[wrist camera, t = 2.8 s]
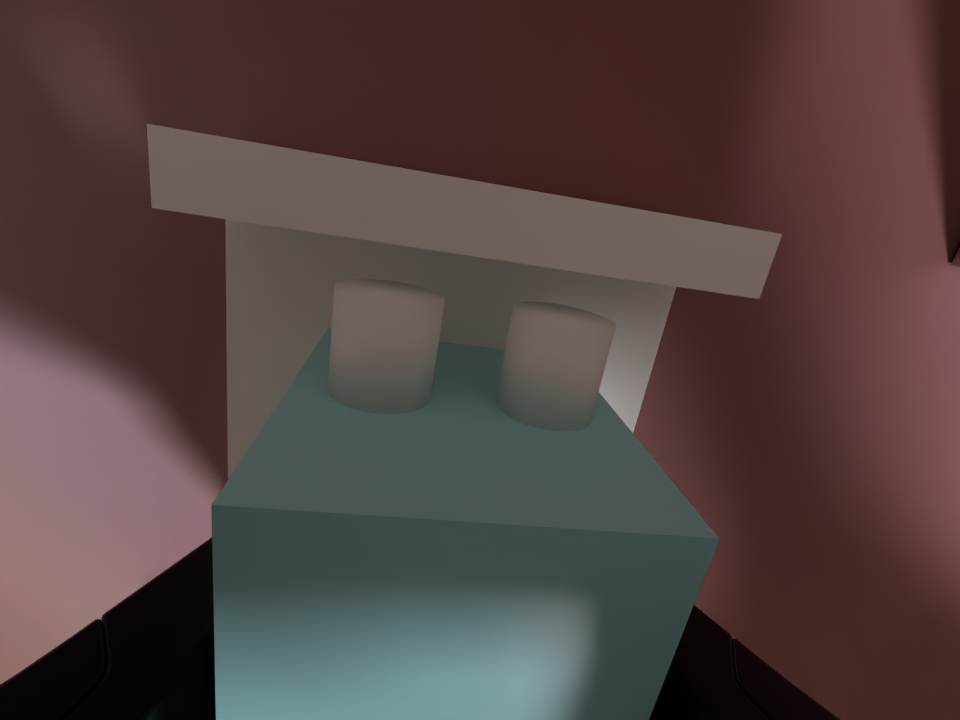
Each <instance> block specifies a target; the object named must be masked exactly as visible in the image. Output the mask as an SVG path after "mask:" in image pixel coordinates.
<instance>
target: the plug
mask: <svg viewBox="0 0 960 720" xmlns="http://www.w3.org/2000/svg"><path fill="white" fill-rule="evenodd" d="M444 301H445V298H444V297H443V296H442V295H441V294H439V293H437V292H435V291H433V290H430V289H427V288H424V287H420V286H416V285H412V284H407V283H402V282H395V281H388V280H376V279H351V280H344V281H340V282H337V283H336V284H335V285H334V298H333V313H332V328H328V329H327V330H326V332H325V333H324V335H323V336H322V338H321V339H320V341H319V343H318V344H317V346H316V347H315V349H314V350H313V352H312V353H311V355H310V356H309V358H308V359H307V361H306V362H305V364H304V365H303V367H302V368H301V370H300V371H299V373H298V374H297V376H296V377H295V379H294V380H293V382H292V383H291V385H290V387H289V388H288V390H287V391H286V393H285V394H284V396H283V397H282V399H281V400H280V402H279V403H278V405H277V406H276V408H275V409H274V411H273V412H272V414H271V415H270V417H269V418H268V420H267V421H266V423H265V424H264V426H263V428H262V429H261V431H260V432H259V434H258V435H257V437H256V438H255V440H254V441H253V443H252V444H251V446H250V447H249V449H248V450H247V452H246V453H245V455H244V456H243V458H242V459H241V461H240V462H239V464H238V465H237V467H236V468H235V470H234V472H233V473H232V475H231V476H230V478H229V479H228V481H227V482H226V484H225V485H224V487H223V488H222V490H221V491H220V493H219V494H218V496H217V497H216V499H215V500H214V502H213V503H212V552H213V601H214V651H215V701H216V720H649V718H650V716H651V713H652V711H653V708H654V706H655V703H656V701H657V698H658V695H659V693H660V690H661V688H662V685H663V683H664V680H665V677H666V675H667V672H668V670H669V667H670V665H671V662H672V659H673V657H674V654H675V652H676V649H677V647H678V644H679V641H680V639H681V636H682V634H683V631H684V629H685V626H686V623H687V621H688V618H689V616H690V613H691V611H692V608H693V605H694V603H695V600H696V598H697V595H698V593H699V590H700V588H701V585H702V582H703V580H704V577H705V575H706V572H707V570H708V567H709V564H710V562H711V559H712V557H713V554H714V552H715V549H716V546H717V544H718V541H719V539H720V538H719V537H718V536H717V535H716V534H715V532H714V531H713V530H712V529H711V528H710V526H709V525H708V524H707V523H706V521H705V520H704V519H703V518H702V517H701V515H700V514H699V513H698V512H697V511H696V509H695V508H694V507H693V506H692V504H691V503H690V502H689V501H688V500H687V498H686V497H685V496H684V495H683V493H682V492H681V491H680V490H679V489H678V487H677V486H676V485H675V484H674V483H673V481H672V480H671V479H670V478H669V476H668V475H667V474H666V473H665V472H664V470H663V469H662V468H661V467H660V466H659V464H658V463H657V462H656V461H655V459H654V458H653V457H652V456H651V455H650V453H649V452H648V451H647V450H646V449H645V447H644V446H643V445H642V444H641V442H640V441H639V440H638V439H637V438H636V436H635V435H634V434H633V433H632V432H631V430H630V429H629V428H628V427H627V425H626V424H625V423H624V422H623V421H622V419H621V418H620V417H619V416H618V415H617V413H616V412H615V411H614V410H613V408H612V407H611V406H610V405H609V404H608V402H607V401H606V400H605V399H604V397H603V396H602V395H601V394H600V393H599V389H600V385H601V381H602V377H603V373H604V369H605V366H606V362H607V358H608V354H609V350H610V346H611V343H612V339H613V335H614V331H615V327H616V326H615V324H614V323H613V322H612V321H610V320H609V319H607V318H605V317H603V316H600V315H598V314H595V313H592V312H589V311H586V310H582V309H578V308H574V307H570V306H565V305H560V304H554V303H546V302H532V301H529V302H519V303H516V304H514V305H513V310H512V315H511V321H510V326H509V331H508V337H507V342H506V347H505V350H504V349H495V348H487V347H479V346H471V345H463V344H454V343H446V342H439V336H440V329H441V322H442V315H443V308H444Z"/></svg>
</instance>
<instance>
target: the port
mask: <svg viewBox="0 0 960 720" xmlns="http://www.w3.org/2000/svg"><path fill="white" fill-rule="evenodd" d="M951 265H954V266H960V247H959V249H958V251H957V253H956V255H955V257H954V259H953V261H952V264H951Z"/></svg>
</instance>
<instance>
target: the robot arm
mask: <svg viewBox="0 0 960 720" xmlns="http://www.w3.org/2000/svg"><path fill="white" fill-rule="evenodd" d="M0 720H216V701H215V651H214V601H213V552H212V538H210V539H209V540H207V541H206V542H205V543H203V544H202V545H200V546H199V547H198V548H196V549H195V550H193V551H192V552H191V553H189V554H188V555H186V556H185V557H183V558H182V559H181V560H179V561H178V562H176V563H175V564H174V565H172V566H171V567H169V568H168V569H167V570H165V571H164V572H162V573H161V574H160V575H158V576H157V577H155V578H154V579H152V580H151V581H150V582H148V583H147V584H145V585H144V586H143V587H141V588H140V589H138V590H137V591H136V592H134V593H133V594H131V595H130V596H128V597H127V598H126V599H124V600H123V601H121V602H120V603H119V604H117V605H116V606H114V607H113V608H112V609H110V610H109V611H107V612H106V613H105V614H103V615H102V621H101V620H100V619H96V620H94V621H93V622H91V623H90V624H89V625H87V626H86V627H84V628H83V629H82V630H80V631H79V632H77V633H76V634H75V635H73V636H72V637H70V638H69V639H67V640H66V641H65V642H63V643H62V644H60V645H59V646H57V647H56V648H54V649H53V650H51V651H50V652H48V653H47V654H45V655H44V656H43V657H41V658H40V659H38V660H37V661H35V662H34V663H32V664H31V665H29V666H28V667H26V668H25V669H23V670H22V671H21V672H19V673H18V674H16V675H15V676H13V677H11V678H10V679H8V680H7V681H5V682H4V683H2V684H0ZM649 720H840V719H839V718H838V717H836V716H835V715H834V714H832V713H831V712H830V711H828V710H827V709H826V708H824V707H823V706H821V705H820V704H819V703H817V702H816V701H815V700H813V699H812V698H811V697H809V696H808V695H807V694H805V693H804V692H802V691H801V690H800V689H798V688H797V687H796V686H794V685H793V684H792V683H791V682H789V681H788V680H787V679H786V678H784V677H783V676H782V675H780V674H779V673H778V672H777V671H775V670H774V669H773V668H772V667H770V666H769V665H768V664H766V663H765V662H764V661H763V660H761V659H760V658H759V657H758V656H756V655H755V654H754V653H753V652H751V651H750V650H749V649H748V648H747V647H745V646H744V645H743V644H742V643H740V642H739V641H738V640H737V639H733V640H732V637H731V635H730V634H729V633H728V632H727V631H725V630H724V629H723V628H722V627H720V626H719V625H718V624H717V623H716V622H714V621H713V620H712V619H711V618H709V617H708V616H707V615H706V614H704V613H703V612H702V611H701V610H699V609H698V608H697V607H696V606H695V605H693V608H692V611H691V613H690V616H689V618H688V621H687V623H686V626H685V629H684V631H683V634H682V636H681V639H680V641H679V644H678V647H677V649H676V652H675V654H674V657H673V659H672V662H671V665H670V667H669V670H668V672H667V675H666V677H665V680H664V683H663V685H662V688H661V690H660V693H659V695H658V698H657V701H656V703H655V706H654V708H653V711H652V713H651V716H650V718H649Z"/></svg>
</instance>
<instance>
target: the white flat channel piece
mask: <svg viewBox="0 0 960 720" xmlns="http://www.w3.org/2000/svg"><path fill="white" fill-rule="evenodd" d="M147 137H148V155H149V172H150V190H151V207H152V208H154V209H161V210H168V211H174V212H181V213H188V214H194V215H201V216H208V217H214V218H221V219H225V226H226V332H227V439H228V479H229V478H230V476H231V475H232V473H233V472H234V470H235V468H236V467H237V465H238V464H239V462H240V461H241V459H242V458H243V456H244V455H245V453H246V452H247V450H248V449H249V447H250V446H251V444H252V443H253V441H254V440H255V438H256V437H257V435H258V434H259V432H260V431H261V429H262V428H263V426H264V424H265V423H266V421H267V420H268V418H269V417H270V415H271V414H272V412H273V411H274V409H275V408H276V406H277V405H278V403H279V402H280V400H281V399H282V397H283V396H284V394H285V393H286V391H287V390H288V388H289V387H290V385H291V383H292V382H293V380H294V379H295V377H296V376H297V374H298V373H299V371H300V370H301V368H302V367H303V365H304V364H305V362H306V361H307V359H308V358H309V356H310V355H311V353H312V352H313V350H314V349H315V347H316V346H317V344H318V343H319V341H320V339H321V338H322V336H323V335H324V333H325V332H326V330H327V329H328V328H332V313H333V298H334V285H335V284H336V283H337V282H340V281H344V280H351V279H376V280H388V281H395V282H402V283H407V284H412V285H416V286H420V287H424V288H427V289H430V290H433V291H435V292H437V293H439V294H441V295H442V296H443V297H444V298H445V301H444V308H443V315H442V322H441V329H440V336H439V342H446V343H454V344H463V345H471V346H479V347H487V348H495V349H504V350H505V347H506V342H507V337H508V331H509V326H510V321H511V315H512V310H513V305H514V304H516V303H519V302H529V301H532V302H546V303H554V304H560V305H565V306H570V307H574V308H578V309H582V310H586V311H589V312H592V313H595V314H598V315H600V316H603V317H605V318H607V319H609V320H610V321H612V322H613V323H614V324H615V326H616V327H615V331H614V335H613V339H612V343H611V346H610V350H609V354H608V358H607V362H606V366H605V369H604V373H603V377H602V381H601V385H600V389H599V393H600V394H601V395H602V396H603V397H604V399H605V400H606V401H607V402H608V404H609V405H610V406H611V407H612V408H613V410H614V411H615V412H616V413H617V415H618V416H619V417H620V418H621V419H622V421H623V422H624V423H625V424H626V425H627V427H628V428H629V429H630V430H631V432H632V433H633V432H634V428H635V425H636V421H637V418H638V415H639V411H640V408H641V405H642V401H643V398H644V395H645V391H646V388H647V384H648V381H649V378H650V374H651V371H652V368H653V364H654V361H655V358H656V354H657V351H658V347H659V344H660V341H661V337H662V334H663V331H664V327H665V324H666V320H667V317H668V314H669V310H670V307H671V304H672V300H673V297H674V294H675V290H676V287H682V288H688V289H695V290H702V291H708V292H715V293H722V294H728V295H735V296H742V297H748V298H755V299H759V298H760V295H761V293H762V290H763V287H764V284H765V281H766V279H767V276H768V273H769V270H770V267H771V265H772V262H773V259H774V256H775V253H776V251H777V248H778V245H779V242H780V239H781V236H782V234H779V233H773V232H768V231H762V230H756V229H750V228H745V227H739V226H733V225H727V224H722V223H716V222H710V221H704V220H699V219H693V218H687V217H681V216H676V215H670V214H664V213H658V212H653V211H647V210H641V209H635V208H630V207H624V206H618V205H612V204H607V203H601V202H595V201H589V200H584V199H578V198H572V197H566V196H561V195H555V194H549V193H543V192H537V191H532V190H526V189H520V188H514V187H509V186H503V185H497V184H491V183H486V182H480V181H474V180H468V179H463V178H457V177H451V176H445V175H440V174H434V173H428V172H422V171H417V170H411V169H405V168H399V167H394V166H388V165H382V164H376V163H371V162H365V161H359V160H353V159H348V158H342V157H336V156H330V155H325V154H319V153H313V152H307V151H302V150H296V149H290V148H284V147H279V146H273V145H267V144H261V143H256V142H250V141H244V140H238V139H233V138H227V137H221V136H215V135H210V134H204V133H198V132H192V131H187V130H181V129H175V128H169V127H164V126H158V125H152V124H147Z"/></svg>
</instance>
